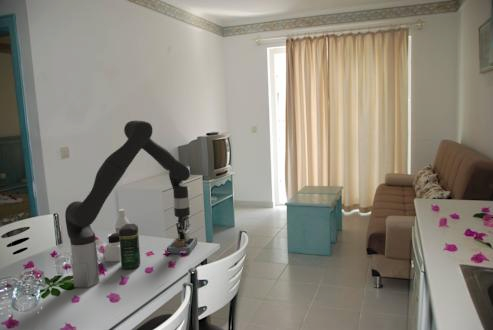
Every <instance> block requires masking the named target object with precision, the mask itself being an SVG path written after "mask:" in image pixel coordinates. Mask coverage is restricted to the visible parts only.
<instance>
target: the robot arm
mask: <svg viewBox="0 0 493 330" xmlns="http://www.w3.org/2000/svg"><path fill="white" fill-rule="evenodd" d="M123 128H124V129H123V133H124V135H125V137H126V138H127V140H126V141H125V142H124V144H123V145H122V146H120V147H119V148H118V149H116V150H115V151H113V152H112V153H110V155H109V156H108V157H107V158H106V159H105V160H103V161H104V162H103V163H102V164H101V166H100V167H99V168H98V170H97V171H96V175H95V178H94V182H93V185H92V189H91V190H90V192H89V193H88V194H87V196H86V198H84V200H83V201H79V200H78V201H73V202H70V203H69V204H68V205H67V207H66V209H65V213H64V215H65V216H64V217H65V218H64V219H65V225H66V231H67V236H68V238H69V241H70V248H71V260H72V264H71V269H72V279H73V287H74V288H90V287H92V286H94V285H96V284H98V283H99V282H100V271H99V264H98V263H99V262H98V261H99V260H98V251H97V242H96V234H95V232H94V231H93V229H92V227H91V225H92V224H93V222H95V220H96V219H97V217H98V215H99V213H100V212H101V210H102V207H103V206H104V204H105V202H106V201H107V199H108V197H109V196H110V194H111V193H112V191H113V190H114V189H115V187H116V186H117V185H118V183H119V181H120V180H121V179H122V177H123V175H124V174H125V173H126V171H127V170H128V168H129V166H130V165H131V164H132V163H133V161H134V159H135V157H136V156H137V154H138V153H139V152H140V151H141V150H144V152H145V153H147V154H149V156H151V158H153V159H154V160H155V161H156V162H157V163H158V164H159V165H160V166H161V167H162V168H163V169H164V170H166V171H168V178H169V181H170V184H171V187H172V190H173V213H174V217H176V218H177V222H176V231H177V235H178V234H180V239H185V236H184V230H189V224H190V223H189V221H190V220H189V219H190V218H189V216H190V214H191V210H190V199H189V189H188V185H186V184H184V183H183V182H184V181H185V182H186V181H187V180H189V179H190V177H191V173H190V169H189V168H188V166H187V165H185V164H184V163H183V162H181V161H180V160H178V159H176V158H175V156H173V154H171V152H170V151H169V150H168V149H166V147H165V148H164V147H163V146H162V145H161V144H159V143H157V142H155V141H154V140H153V139H152V138H151V137H152V135H153V132H154V131H153V126H152V124H151V123H150V122H149V121H146V120H130V121H128V122H127V123H126V124H125V125H124V127H123Z"/></svg>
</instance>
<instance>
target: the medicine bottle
mask: <svg viewBox="0 0 493 330" xmlns="http://www.w3.org/2000/svg"><path fill="white" fill-rule="evenodd" d="M106 237H107V238H106V239H107V245H105V246H104V247H103V248H104V257H105V262H106V263H107V262H109V263H110V262H121V251H120V239H119V233H116V232H113V233H110V234H108V235H107V236H106Z"/></svg>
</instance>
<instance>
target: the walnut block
mask: <svg viewBox="0 0 493 330" xmlns="http://www.w3.org/2000/svg"><path fill="white" fill-rule="evenodd" d="M174 245H175V247H186V239H177V240H176V241H175V242H174Z"/></svg>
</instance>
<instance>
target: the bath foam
mask: <svg viewBox="0 0 493 330" xmlns="http://www.w3.org/2000/svg"><path fill="white" fill-rule="evenodd" d="M125 224H131V223H130V221H129V220H128V218H127V217H126V212H125V208H119V209H118V218H117V220H116V222H115V233H119V230H120V228H121V227H122V226H124V225H125Z"/></svg>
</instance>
